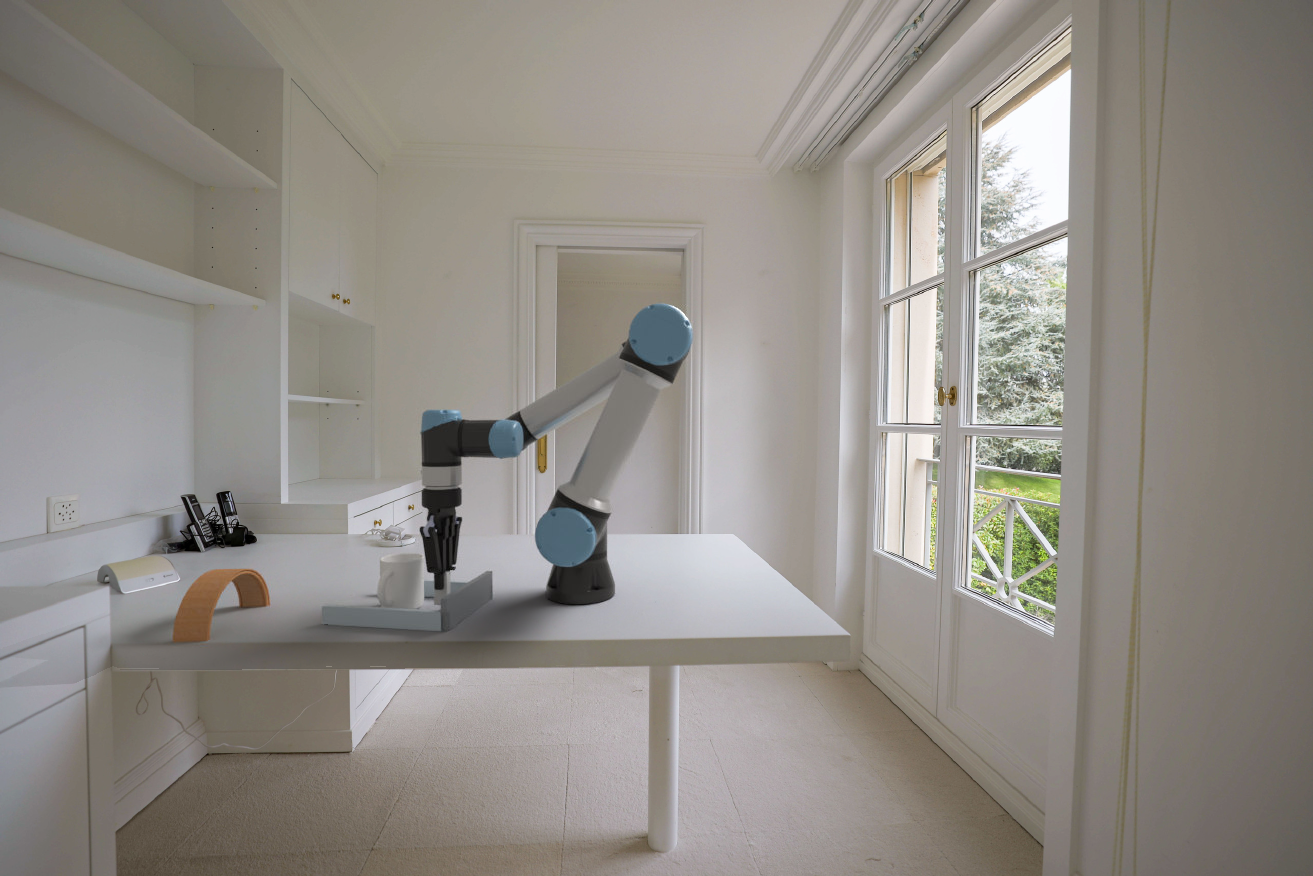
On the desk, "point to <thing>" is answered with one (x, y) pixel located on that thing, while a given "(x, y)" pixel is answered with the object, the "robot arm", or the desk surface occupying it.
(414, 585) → the mug
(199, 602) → the arch
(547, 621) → the desk surface
